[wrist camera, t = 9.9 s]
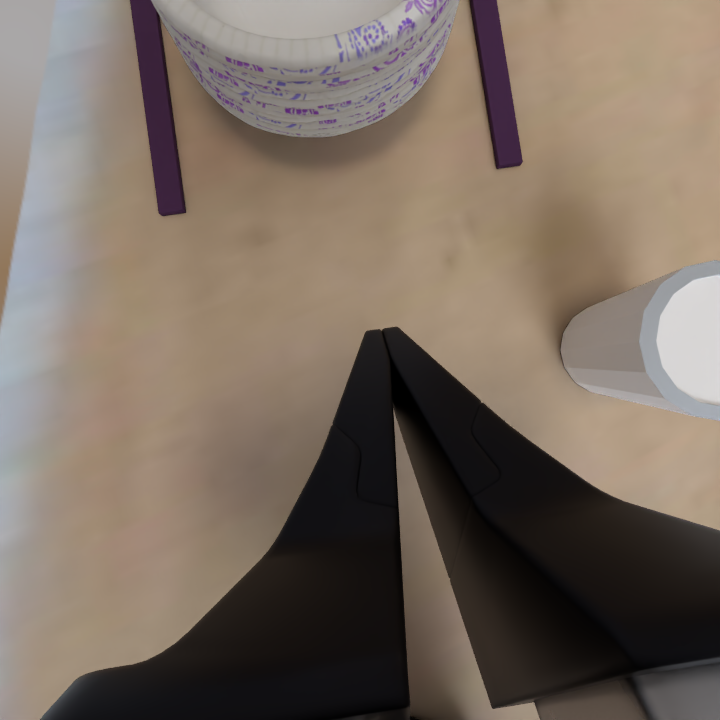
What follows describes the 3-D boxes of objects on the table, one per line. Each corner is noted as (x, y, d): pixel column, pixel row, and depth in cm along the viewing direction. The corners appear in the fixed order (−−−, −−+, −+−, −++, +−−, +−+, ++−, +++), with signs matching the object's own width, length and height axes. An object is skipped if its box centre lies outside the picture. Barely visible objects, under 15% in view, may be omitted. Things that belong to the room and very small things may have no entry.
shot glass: (578, 422, 22) (683, 447, 15) (532, 320, 22) (614, 297, 15) (678, 378, 22) (829, 382, 15) (632, 276, 22) (760, 233, 15)
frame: (520, 165, 22) (523, 162, 22) (162, 216, 22) (158, 213, 21) (473, -124, 23) (475, -133, 22) (122, -79, 22) (118, -87, 22)
